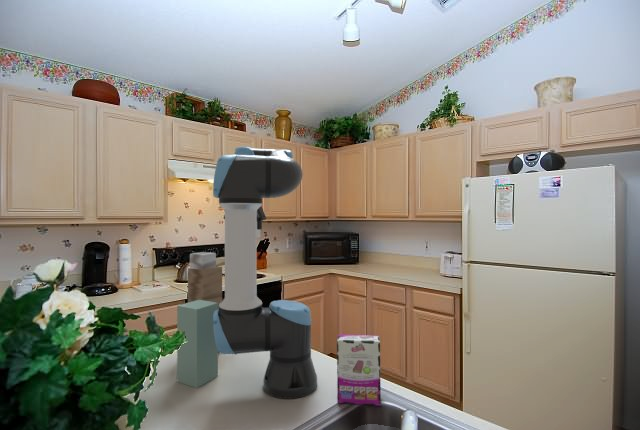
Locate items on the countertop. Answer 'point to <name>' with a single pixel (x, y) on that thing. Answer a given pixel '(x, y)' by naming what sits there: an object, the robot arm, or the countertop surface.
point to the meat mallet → (205, 261)
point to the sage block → (197, 343)
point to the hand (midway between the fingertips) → (244, 237)
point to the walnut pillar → (205, 285)
